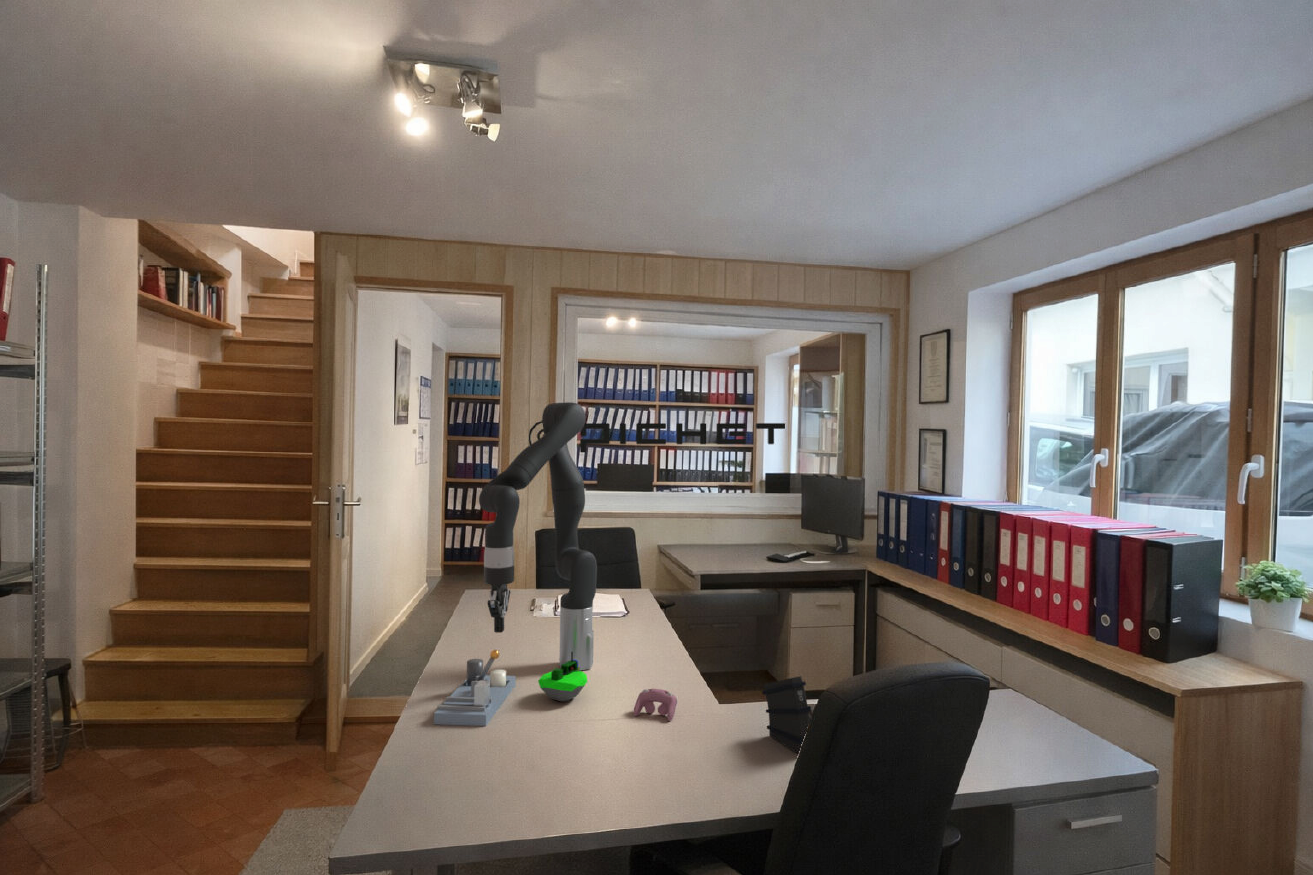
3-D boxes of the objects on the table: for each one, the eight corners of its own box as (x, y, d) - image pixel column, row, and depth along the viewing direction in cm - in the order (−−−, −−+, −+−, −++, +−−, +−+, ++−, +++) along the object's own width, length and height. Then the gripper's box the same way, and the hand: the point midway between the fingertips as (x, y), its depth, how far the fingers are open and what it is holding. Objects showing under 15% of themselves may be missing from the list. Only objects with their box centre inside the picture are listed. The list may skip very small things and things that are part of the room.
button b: (484, 679, 182) (485, 658, 182) (480, 684, 178) (480, 663, 178) (469, 678, 182) (469, 658, 182) (464, 683, 178) (464, 663, 178)
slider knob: (489, 701, 167) (489, 680, 167) (484, 708, 163) (484, 686, 163) (479, 701, 167) (479, 680, 167) (474, 707, 163) (474, 686, 163)
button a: (507, 689, 182) (507, 669, 182) (503, 695, 178) (503, 674, 178) (492, 689, 182) (492, 669, 182) (487, 695, 178) (488, 674, 178)
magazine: (808, 754, 144) (789, 678, 150) (772, 757, 155) (756, 686, 160) (823, 750, 146) (803, 675, 152) (786, 754, 157) (769, 684, 162)
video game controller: (676, 723, 167) (680, 692, 169) (671, 721, 163) (675, 689, 166) (636, 717, 170) (641, 687, 173) (631, 715, 166) (636, 684, 169)
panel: (515, 685, 186) (515, 662, 186) (485, 726, 160) (486, 699, 160) (470, 683, 186) (470, 661, 186) (433, 724, 160) (434, 697, 160)
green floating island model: (556, 688, 185) (556, 645, 185) (595, 695, 179) (595, 651, 180) (529, 703, 174) (529, 658, 174) (569, 711, 169) (569, 664, 169)
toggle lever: (481, 686, 174) (502, 651, 174) (478, 689, 172) (499, 654, 171) (474, 681, 174) (494, 646, 174) (470, 685, 172) (491, 649, 171)
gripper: (506, 569, 173) (506, 639, 173) (520, 559, 186) (520, 624, 186) (476, 568, 173) (476, 639, 173) (492, 558, 186) (492, 624, 186)
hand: (499, 631), depth 180 cm, fingers closed
